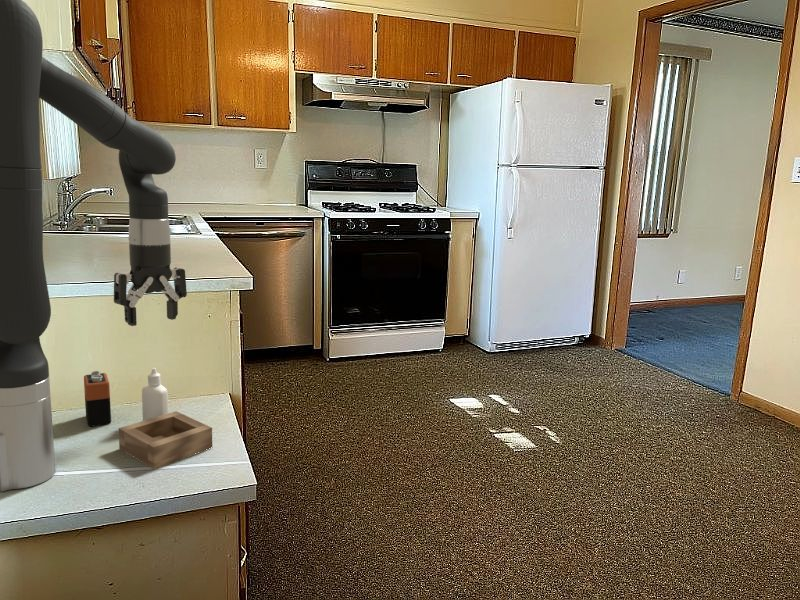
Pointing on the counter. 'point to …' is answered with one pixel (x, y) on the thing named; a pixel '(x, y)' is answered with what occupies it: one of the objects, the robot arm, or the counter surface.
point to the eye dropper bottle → (154, 397)
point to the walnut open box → (165, 439)
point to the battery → (97, 399)
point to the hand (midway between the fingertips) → (152, 321)
